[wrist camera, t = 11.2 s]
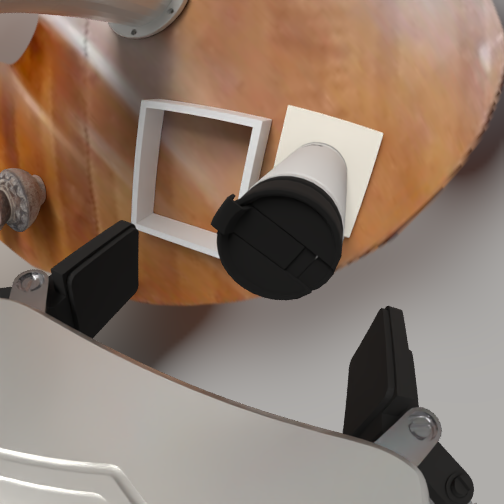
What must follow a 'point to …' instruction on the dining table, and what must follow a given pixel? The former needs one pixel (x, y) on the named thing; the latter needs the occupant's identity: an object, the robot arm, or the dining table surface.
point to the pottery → (20, 198)
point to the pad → (343, 140)
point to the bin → (148, 163)
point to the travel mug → (287, 225)
